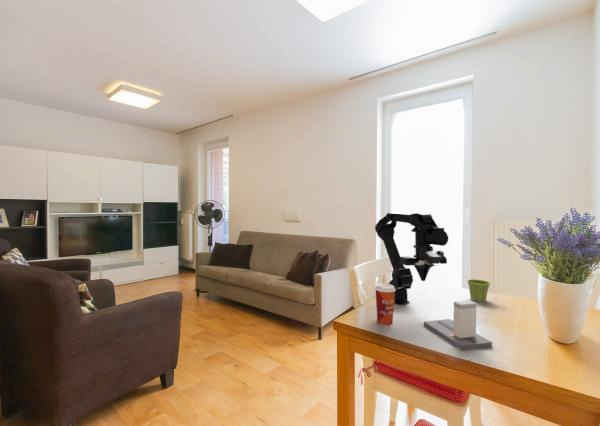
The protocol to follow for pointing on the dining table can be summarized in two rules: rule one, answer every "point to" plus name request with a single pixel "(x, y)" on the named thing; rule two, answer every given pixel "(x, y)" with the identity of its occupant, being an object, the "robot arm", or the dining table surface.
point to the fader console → (446, 331)
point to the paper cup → (385, 303)
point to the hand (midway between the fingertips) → (423, 280)
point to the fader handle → (464, 319)
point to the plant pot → (478, 289)
